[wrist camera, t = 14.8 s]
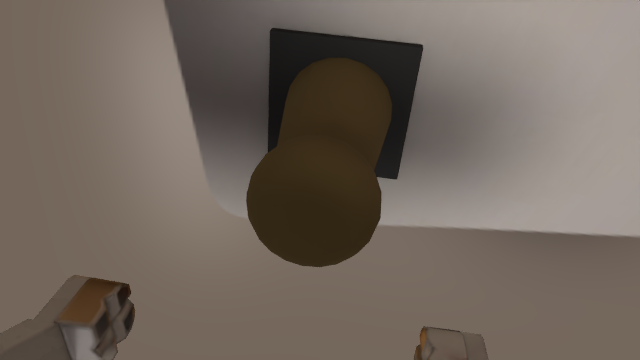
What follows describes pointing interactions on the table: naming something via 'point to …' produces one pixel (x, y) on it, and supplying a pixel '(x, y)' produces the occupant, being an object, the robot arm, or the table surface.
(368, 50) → the coaster
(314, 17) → the table surface
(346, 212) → the cork
